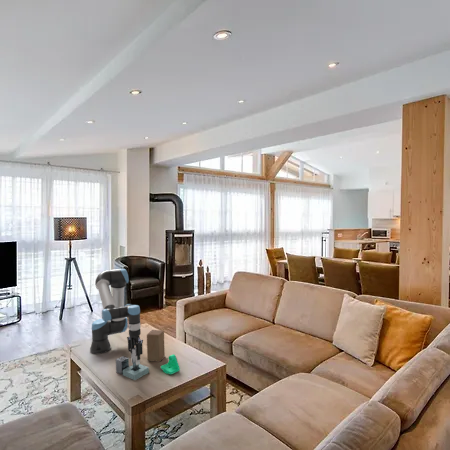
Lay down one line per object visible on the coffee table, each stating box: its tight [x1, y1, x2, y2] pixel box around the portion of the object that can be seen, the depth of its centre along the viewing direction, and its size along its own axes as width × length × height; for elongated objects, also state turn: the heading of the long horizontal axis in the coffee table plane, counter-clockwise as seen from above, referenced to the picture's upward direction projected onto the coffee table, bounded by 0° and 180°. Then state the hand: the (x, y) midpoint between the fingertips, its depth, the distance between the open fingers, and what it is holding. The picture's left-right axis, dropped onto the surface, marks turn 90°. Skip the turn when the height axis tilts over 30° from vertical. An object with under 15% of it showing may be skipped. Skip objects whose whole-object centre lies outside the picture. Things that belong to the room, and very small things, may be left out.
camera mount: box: [160, 354, 181, 375], centre depth 221 cm, size 12×8×10 cm, turn 45°
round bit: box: [132, 347, 139, 371], centre depth 217 cm, size 4×4×14 cm
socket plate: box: [122, 363, 150, 381], centre depth 217 cm, size 12×12×4 cm
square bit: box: [115, 355, 130, 376], centre depth 220 cm, size 6×6×9 cm
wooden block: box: [146, 329, 166, 363], centre depth 239 cm, size 10×10×20 cm
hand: (135, 363), depth 217 cm, fingers closed on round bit, 4 cm apart
